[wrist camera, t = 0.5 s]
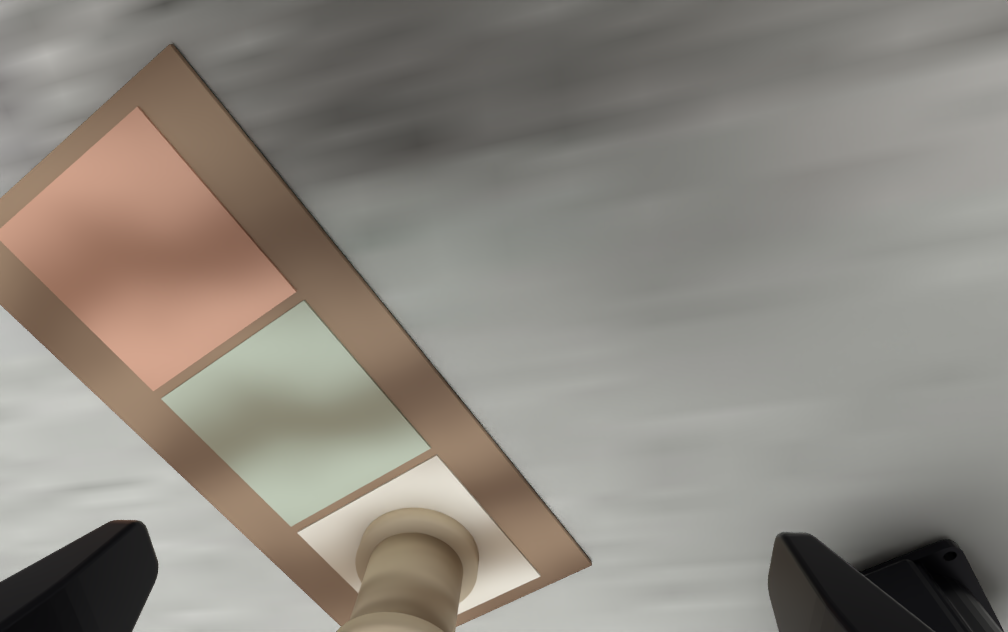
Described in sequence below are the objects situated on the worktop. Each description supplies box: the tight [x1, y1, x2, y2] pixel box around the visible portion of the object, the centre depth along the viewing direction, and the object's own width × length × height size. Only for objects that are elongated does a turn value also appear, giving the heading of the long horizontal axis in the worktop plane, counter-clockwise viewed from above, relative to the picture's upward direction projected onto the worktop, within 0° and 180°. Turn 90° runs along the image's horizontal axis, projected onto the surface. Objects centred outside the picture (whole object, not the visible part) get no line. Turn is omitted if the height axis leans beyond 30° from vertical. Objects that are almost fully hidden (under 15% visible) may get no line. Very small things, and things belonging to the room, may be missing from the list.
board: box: [0, 44, 592, 627], centre depth 24 cm, size 25×12×1 cm, turn 34°
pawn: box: [336, 508, 479, 632], centre depth 24 cm, size 5×5×6 cm
